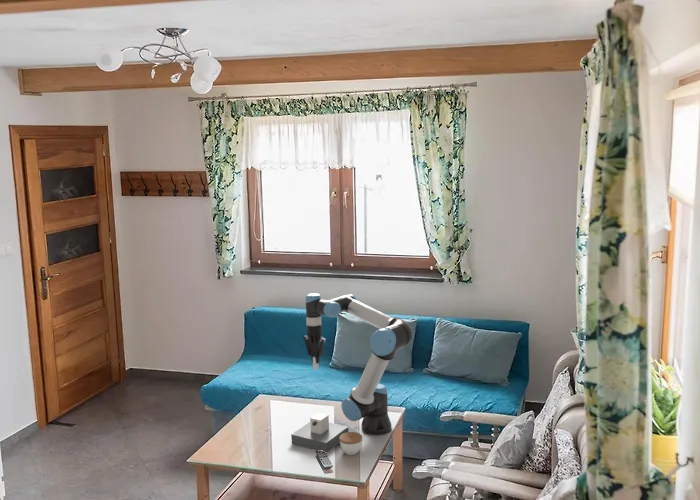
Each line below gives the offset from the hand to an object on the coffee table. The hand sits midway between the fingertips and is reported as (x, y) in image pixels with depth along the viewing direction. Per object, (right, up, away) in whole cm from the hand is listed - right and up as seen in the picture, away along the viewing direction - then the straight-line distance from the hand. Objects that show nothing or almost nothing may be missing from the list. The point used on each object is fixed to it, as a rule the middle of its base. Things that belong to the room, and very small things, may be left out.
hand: (315, 368), depth 354 cm
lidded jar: (+18, -34, -28) cm, 48 cm away
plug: (+3, -31, -15) cm, 34 cm away
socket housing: (+3, -32, -14) cm, 36 cm away
